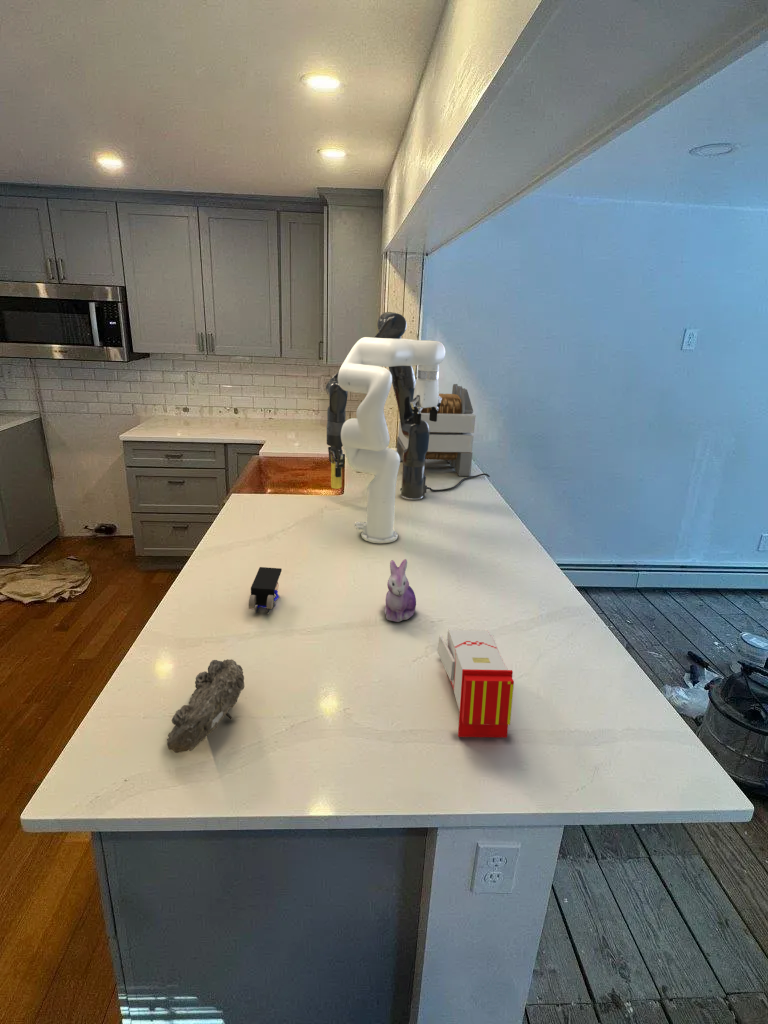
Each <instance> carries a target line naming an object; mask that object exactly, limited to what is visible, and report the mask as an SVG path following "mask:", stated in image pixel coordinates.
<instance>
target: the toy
mask: <svg viewBox="0 0 768 1024" xmlns="http://www.w3.org/2000/svg"><path fill="white" fill-rule="evenodd" d="M446 640H447V643H446V641H445V639H444V636H443V635H442V634H439V637H438V646H437V656H438V657H439V659H440V661H441V663H442V666H443V668H444V670H445V672H446V674H447V677H448V679H449V681H450V684H451V687H452V690H453V693H454V697H455V701H456V705H457V708H458V711H459V714H458V715H459V716H458V730H457V731H458V732H457V737H458V738H508V731H509V726H510V725H511V717H512V707H513V697H514V696H513V695H514V684H515V680H514V679H513V673H514V671H513V670H512V669H508V667H507V665H506V662H505V661H504V659H503V658H502V655H501V653H500V651H499V649H498V647H497V643H496V639H495V637H494V635H493V634H491V632H490V631H489V629H467V628H466V629H465V628H463V629H461V628H460V629H459V628H448V630H447V639H446Z"/></svg>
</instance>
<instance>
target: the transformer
mask: <svg viewBox="0 0 768 1024" xmlns="http://www.w3.org/2000/svg"><path fill="white" fill-rule="evenodd" d="M451 389H452V391H451V393H439V397H441V398H442V400H441V403H440V406H439V410H438V412H437V421H436V422H434V421H430V420H429V416H430V410H431V408H430V407H429V408H423V409H422V411H421V412H420V414H421V420H423V421H425V422H426V423H427V424H428V425H429V429H430V436H429V445H428V451H427V453H426V456H425V460H433V461H436V460H437V461H440V460H441V461H442V460H443V461H447V463H449V464H450V467H451V468H453V469H454V471H455V472H456V474H457V475H458V476H460V477H461V476H462V477H470V476H471V474H472V464H473V446H474V445H473V444H474V433H475V424H476V415H475V414H474V409H473V405H472V402H471V398H470V395H469V392H468V389H467V388H463V386H462V385H458V384H457V383H453V385H452V388H451ZM417 409H419V408H417ZM398 419H399V420H400V415H399V414H398ZM408 444H409V439H407V438H406V437H405V436H404V435H403V433H402V430H401V423H400V421H399V423H398V435H397V438H396V452H397V453H398V454H399V456H400V462H403V452H404V450H405V449H407V448H408Z"/></svg>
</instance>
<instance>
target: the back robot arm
mask: <svg viewBox="0 0 768 1024" xmlns="http://www.w3.org/2000/svg"><path fill="white" fill-rule="evenodd" d="M407 325H408V323H407V320H406V318H405V317H404V316H403V315H402V314H401V313H397V312H392V311H386V312H383V313H382V314H380V315H379V317H378V320H377V330H378V332H377V333H376V334H375V336H374V337H373V338H389V339H402V337H403V335H404V334H405V332H406V330H407ZM388 370H389V371H390V372H391V375H392V385H391V386H392V389H393V393H394V397H395V400H396V405H397V408H398V416H399V415H400V419H399V422H400V423H401V430H402V433H403V435H404V436H405V437H406V438H407V439H409V444H408V448H407V449H405V450H404V452H403V461H402V468H401V469H402V470H401V487H400V490H399V491H400V498H402V499H404V500H408V501H419V500H422V499H423V498H425V497H426V496H425V495H426V494H427V491H428V490H429V491H430V492H434V493H436V492H445V491H446V492H447V491H451V490H454V489H456V488H457V487H458V486H459V485H461V484H462V482H464V481H466V480H468V479H475V478H478V477H482V476H486V477H487V478H490V477H491V476H490V475H489V474H488V473H485V472H484V473H479V474H476V475H472V476H471V475H470V476H465V477H464V478H462V479H461V480H459V482H458V483H456V484H455V485H454V486H451V487H447V488H442V489H432V487H430V486H428V485H426V484H427V483H426V481H427V475H426V474H425V469H426V459H425V456H426V453H427V451H428V445H429V436H430V429H429V425H428V424H427V423H426V422H425V421H423V420H421V424H420V425H418V424H413V414H414V413H413V411H412V409H411V404H410V402H411V401H412V400H413V396H414V389H415V384H416V380H417V379H416V376H415V371H414V368H413V366H392V367H388ZM338 373H339V371H338V372H336V373H335V374H334V375H333V376H332V377H331V378H330V379H329V380H328V382H327V383H326V385H325V392H326V394H327V395H328V396H329V403H328V406H327V411H326V421H327V422H326V445H327V446H328V447H327V450H328V451H327V453H328V462H329V463H330V464H331V463H334V462H335V476H336V477H341V468H342V469H343V468H344V466H345V459H346V454H345V453H344V451H343V450H344V449H343V445H342V441H341V429H342V426H343V424H344V423H345V421H347V420H346V419H347V417H346V415H347V413H346V410H347V409H346V408H347V404H348V395H349V394H348V393H349V392H348V391H345V390H343V389H342V388H341V387H340V386H339V383H338ZM339 463H340V465H339Z"/></svg>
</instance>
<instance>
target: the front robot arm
mask: <svg viewBox="0 0 768 1024" xmlns="http://www.w3.org/2000/svg"><path fill="white" fill-rule="evenodd" d="M445 357H446V348H445V346H444V344H443V342H441V341H438V340H429V339H428V340H427V339H426V340H420V339H410V338H401V339H389V338H374V337H372V336H371V337H369V336H364V337H361V338H360V339H358V340H357V341H356V342H355V344H354V345H353V346H352V348H351V349H350V351H349V352H348V354H347V356H346V357H345V359H344V361H343V362H342V364H341V366H340V368H339V371H338V372H339V373H338V372H337V373H338V383H339V386H340V387H341V388H342V389H343V390H345V391H348V393H349V392H350V393H357V394H364V395H365V397H364V399H363V400H362V401H361V402H360V403H359V405H358V407H357V409H356V412H355V414H356V415H355V416H356V417H353V418H348V419H347V420H346V421H345V423H344V424H343V426H342V429H341V441H342V445H343V446H342V449H343V450H344V451H343V452H344V454H345V458H346V460H347V463H348V465H349V467H350V468H351V469H352V470H353V471H354V472H358V473H363V474H369V475H371V476H372V475H373V476H374V477H373V479H372V480H371V481H370V482H369V484H368V486H367V491H366V519H365V520H366V521H364V522H362V521H355V522H354V527H355V529H356V530H361V534H360V535H361V538H362V539H363V540H364V541H366V542H368V543H373V544H389V543H393V542H395V541H397V540H398V537H399V534H398V532H397V531H396V530H395V528H394V527H395V510H396V509H395V508H396V507H395V506H396V491H397V490H396V489H397V479H398V474H399V470H400V465H401V461H400V456H399V454H398V453H397V450H395V449H393V448H389V445H390V441H391V439H390V433H389V427H388V424H387V420H386V415H385V405H386V403H387V399H388V397H389V395H390V391H391V388H392V386H393V385H392V375H391V372H390V371H389V367H392V366H412V367H413V366H418V367H417V379H415V380H416V384H415V389H414V396H413V400H412V401H411V402H410V404H411V409H412V411H413V413H414V414H413V424H418V425H420V424H421V414H420V412H421V411H422V409H423V408H429V407H430V408H431V410H430V416H429V420H430V421H434V422H436V421H437V412H438V410H439V406H440V403H441V400H442V398H441V397H439V394H440V385H439V384H440V383H439V376H440V375H439V374H440V364H442V362H443V361H444V359H445ZM417 408H419V409H417Z"/></svg>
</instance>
